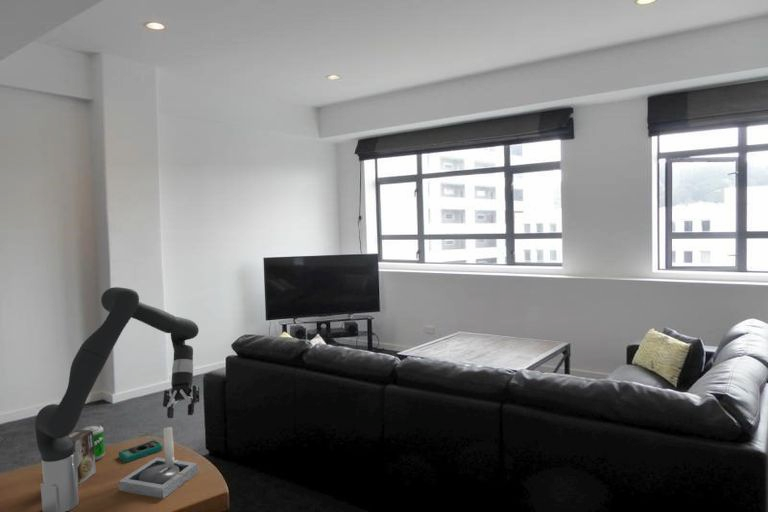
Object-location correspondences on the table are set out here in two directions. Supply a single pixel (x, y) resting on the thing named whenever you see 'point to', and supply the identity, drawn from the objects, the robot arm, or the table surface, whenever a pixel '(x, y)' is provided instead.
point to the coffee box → (84, 454)
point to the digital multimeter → (140, 451)
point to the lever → (166, 470)
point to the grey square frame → (158, 490)
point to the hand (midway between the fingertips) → (180, 416)
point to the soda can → (97, 440)
